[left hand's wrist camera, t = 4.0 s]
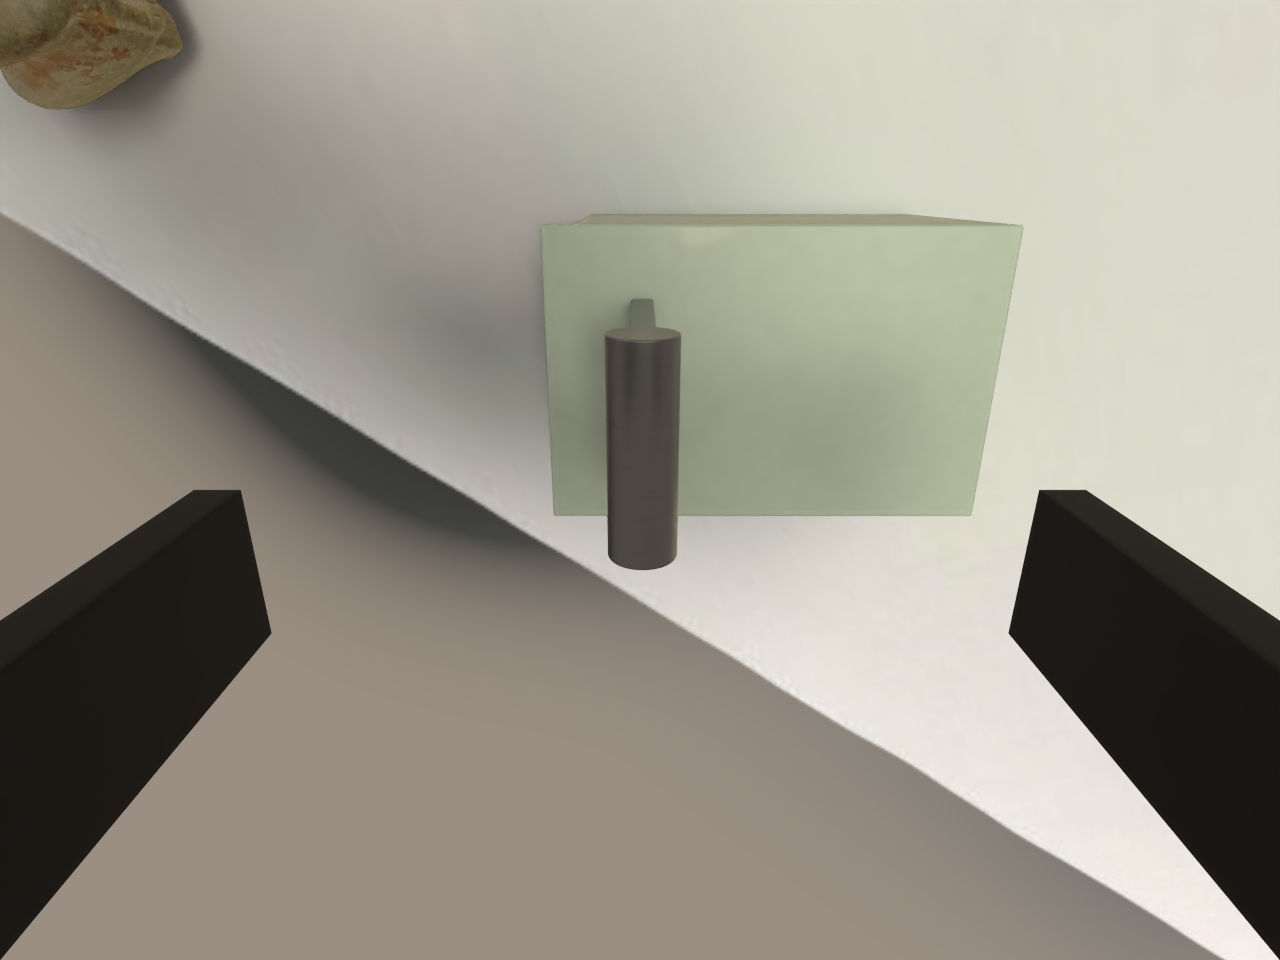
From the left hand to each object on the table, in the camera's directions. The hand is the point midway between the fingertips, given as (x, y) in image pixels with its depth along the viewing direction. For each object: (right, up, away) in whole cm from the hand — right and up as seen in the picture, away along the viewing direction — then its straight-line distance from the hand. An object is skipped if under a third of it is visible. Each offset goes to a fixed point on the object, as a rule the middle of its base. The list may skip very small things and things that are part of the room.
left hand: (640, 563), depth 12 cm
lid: (+4, +5, +12) cm, 14 cm away
